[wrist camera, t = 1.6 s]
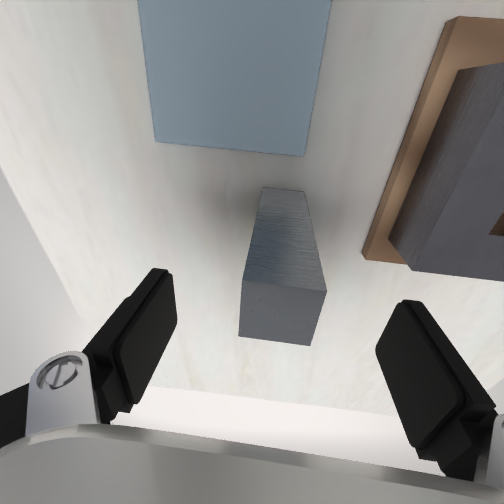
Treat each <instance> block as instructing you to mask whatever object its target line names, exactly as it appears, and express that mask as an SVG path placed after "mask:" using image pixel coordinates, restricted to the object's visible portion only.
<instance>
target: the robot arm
mask: <svg viewBox="0 0 504 504" xmlns="http://www.w3.org/2000/svg"><path fill="white" fill-rule="evenodd" d="M176 325H177V312H176V303H175V294H174V285H173V276H172V274H170V273H169V272H168V270H166V269H158V268H153V269H152V270H151V271H150V272H149V273H148V275H147V276H146V277H145V278H144V280H143V281H142V282H141V283H140V285H139V286H138V287H137V288H136V290H135V291H134V292H133V293H132V294H131V296H129V297H127V298H126V299H125V300H124V301H123V302H122V303H121V304H120V305H119V307H118V308H117V309H116V310H115V312H114V313H113V314H112V315H111V316H110V318H109V319H108V320H107V321H106V323H105V324H104V325H103V326H102V327H101V329H100V330H99V331H98V332H97V334H96V335H95V336H94V337H93V338H92V340H91V341H90V342H89V343H88V345H87V346H86V347H85V349H83V351H82V352H78V351H68V352H64V353H60V354H58V355H56V356H54V357H51V358H50V359H49V360H47V361H45V362H44V363H43V364H42V365H40V366H39V367H38V368H37V369H36V371H35V372H34V374H33V375H32V377H31V380H30V383H28V384H26V385H23V386H21V387H19V388H17V389H14V390H12V391H10V392H8V393H5V394H3V395H1V396H0V504H504V414H500V415H498V414H497V412H496V411H495V410H494V408H495V407H496V405H495V403H494V402H493V400H492V399H491V398H490V396H489V395H488V394H487V392H486V391H485V389H484V388H483V387H482V385H481V384H480V382H479V381H478V380H477V378H476V377H475V375H474V374H473V373H472V371H471V370H470V368H469V367H468V366H467V364H466V363H465V361H464V360H463V359H462V357H461V356H460V354H459V353H458V352H457V350H456V349H455V347H454V346H453V345H452V343H451V342H450V340H449V339H448V338H447V336H446V335H445V333H444V332H443V331H442V329H441V328H440V326H439V325H438V324H437V322H436V321H435V319H434V318H433V317H432V315H431V314H430V313H429V311H428V310H427V308H426V307H425V306H424V304H423V303H422V302H420V301H413V300H403V301H402V302H401V303H398V304H397V305H396V307H395V309H394V311H393V313H392V315H391V317H390V319H389V321H388V323H387V325H386V327H385V329H384V331H383V333H382V335H381V337H380V339H379V341H378V343H377V345H376V349H375V352H376V356H377V359H378V361H379V364H380V367H381V369H382V372H383V375H384V377H385V380H386V383H387V385H388V388H389V390H390V393H391V396H392V398H393V401H394V404H395V406H396V409H397V412H398V414H399V417H400V419H401V422H402V425H403V428H404V430H405V433H406V435H407V438H408V441H409V443H410V444H411V446H412V447H415V449H416V452H417V454H418V457H419V459H423V460H429V461H437V463H438V465H439V467H440V469H441V471H440V474H439V475H433V474H428V473H422V472H417V471H411V470H405V469H399V468H393V467H387V466H380V465H375V464H369V463H363V462H357V461H351V460H345V459H338V458H332V457H326V456H320V455H314V454H307V453H301V452H295V451H288V450H282V449H276V448H270V447H264V446H257V445H251V444H245V443H238V442H232V441H226V440H219V439H213V438H206V437H200V436H193V435H187V434H180V433H174V432H167V431H160V430H152V429H145V428H138V427H130V426H121V425H113V423H112V420H113V419H115V417H116V415H117V413H118V411H119V412H125V413H130V411H131V409H132V407H133V405H134V404H138V403H139V402H140V400H141V398H142V396H143V394H144V391H145V389H146V387H147V385H148V383H149V381H150V379H151V377H152V375H153V373H154V371H155V369H156V367H157V365H158V363H159V361H160V359H161V356H162V354H163V352H164V350H165V348H166V346H167V344H168V342H169V340H170V338H171V336H172V334H173V332H174V330H175V327H176Z"/></svg>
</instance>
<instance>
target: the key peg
mask: <svg viewBox="0 0 504 504" xmlns="http://www.w3.org/2000/svg"><path fill="white" fill-rule="evenodd" d="M326 293H327V289H326V284H325V280H324V276H323V271H322V267H321V263H320V258H319V254H318V250H317V245H316V241H315V237H314V232H313V228H312V224H311V219H310V215H309V211H308V207H307V202H306V198H305V194H304V192H303V191H293V190H284V189H274V188H265V187H263V190H262V194H261V199H260V203H259V207H258V212H257V216H256V221H255V225H254V230H253V234H252V239H251V243H250V248H249V252H248V256H247V261H246V265H245V270H244V274H243V279H242V290H241V305H240V320H239V335H238V336H240V337H247V338H255V339H262V340H269V341H277V342H284V343H291V344H299V345H306V346H310V345H311V341H312V338H313V335H314V332H315V328H316V325H317V322H318V319H319V315H320V312H321V309H322V306H323V303H324V299H325V296H326Z"/></svg>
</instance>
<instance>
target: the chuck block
mask: <svg viewBox="0 0 504 504" xmlns="http://www.w3.org/2000/svg"><path fill="white" fill-rule="evenodd" d="M503 211H504V62H501V63H496V64H490V65H484V66H478V67H472V68H466V69H460V70H458V72H457V74H456V77H455V79H454V82H453V84H452V86H451V89H450V91H449V93H448V96H447V98H446V101H445V103H444V105H443V108H442V110H441V113H440V115H439V117H438V120H437V122H436V125H435V127H434V129H433V132H432V134H431V136H430V139H429V141H428V144H427V146H426V148H425V151H424V153H423V156H422V158H421V160H420V163H419V165H418V167H417V170H416V172H415V175H414V177H413V179H412V182H411V184H410V187H409V189H408V191H407V194H406V196H405V199H404V201H403V203H402V206H401V208H400V210H399V213H398V215H397V218H396V220H395V222H394V225H393V227H392V230H391V232H390V234H389V237H388V240H389V241H390V242H391V244H392V245H393V246H394V248H395V249H396V250H397V252H398V253H399V254H400V256H401V257H402V258H403V260H404V261H405V262H406V264H407V265H408V266H409V268H410V269H411V270H412V271H419V272H427V273H436V274H444V275H452V276H461V277H469V278H478V279H486V280H495V281H503V282H504V213H503Z"/></svg>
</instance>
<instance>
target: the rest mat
mask: <svg viewBox="0 0 504 504" xmlns="http://www.w3.org/2000/svg"><path fill="white" fill-rule="evenodd" d="M331 2H332V0H138V8H139V16H140V24H141V32H142V40H143V48H144V56H145V64H146V72H147V80H148V88H149V96H150V104H151V112H152V120H153V128H154V136H155V142H161V143H171V144H181V145H192V146H202V147H212V148H222V149H232V150H243V151H253V152H263V153H273V154H284V155H294V156H304V155H305V149H306V143H307V138H308V132H309V126H310V121H311V115H312V109H313V104H314V98H315V92H316V87H317V81H318V75H319V70H320V64H321V58H322V53H323V47H324V41H325V36H326V30H327V24H328V19H329V13H330V7H331Z"/></svg>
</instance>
